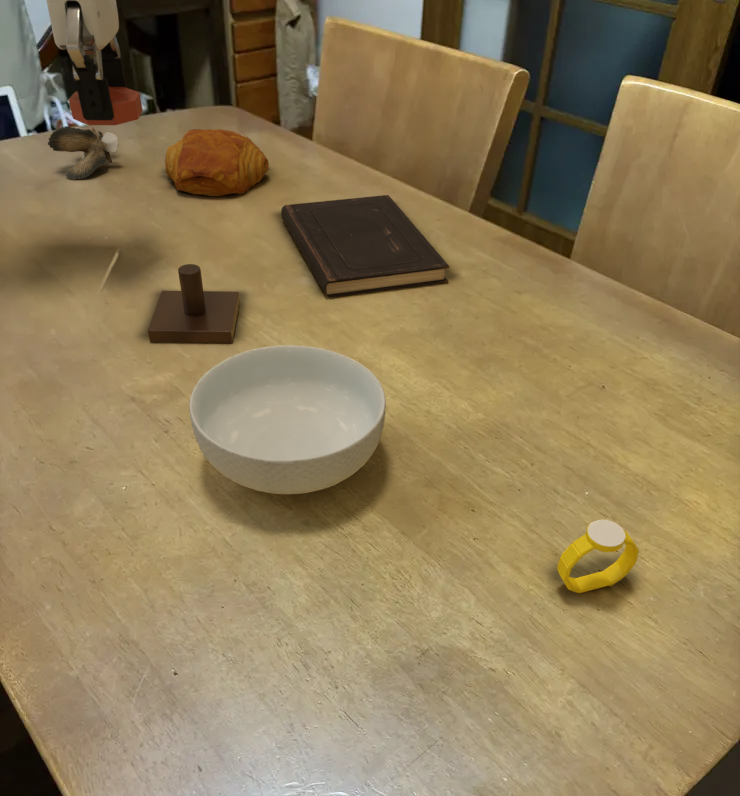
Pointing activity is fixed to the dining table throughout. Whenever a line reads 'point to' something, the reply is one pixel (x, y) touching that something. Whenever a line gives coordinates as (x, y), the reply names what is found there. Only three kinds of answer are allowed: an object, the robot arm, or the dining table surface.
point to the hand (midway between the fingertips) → (106, 106)
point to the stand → (194, 312)
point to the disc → (122, 102)
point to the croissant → (215, 163)
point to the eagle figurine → (84, 148)
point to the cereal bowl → (288, 418)
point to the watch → (603, 539)
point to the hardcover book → (362, 246)
